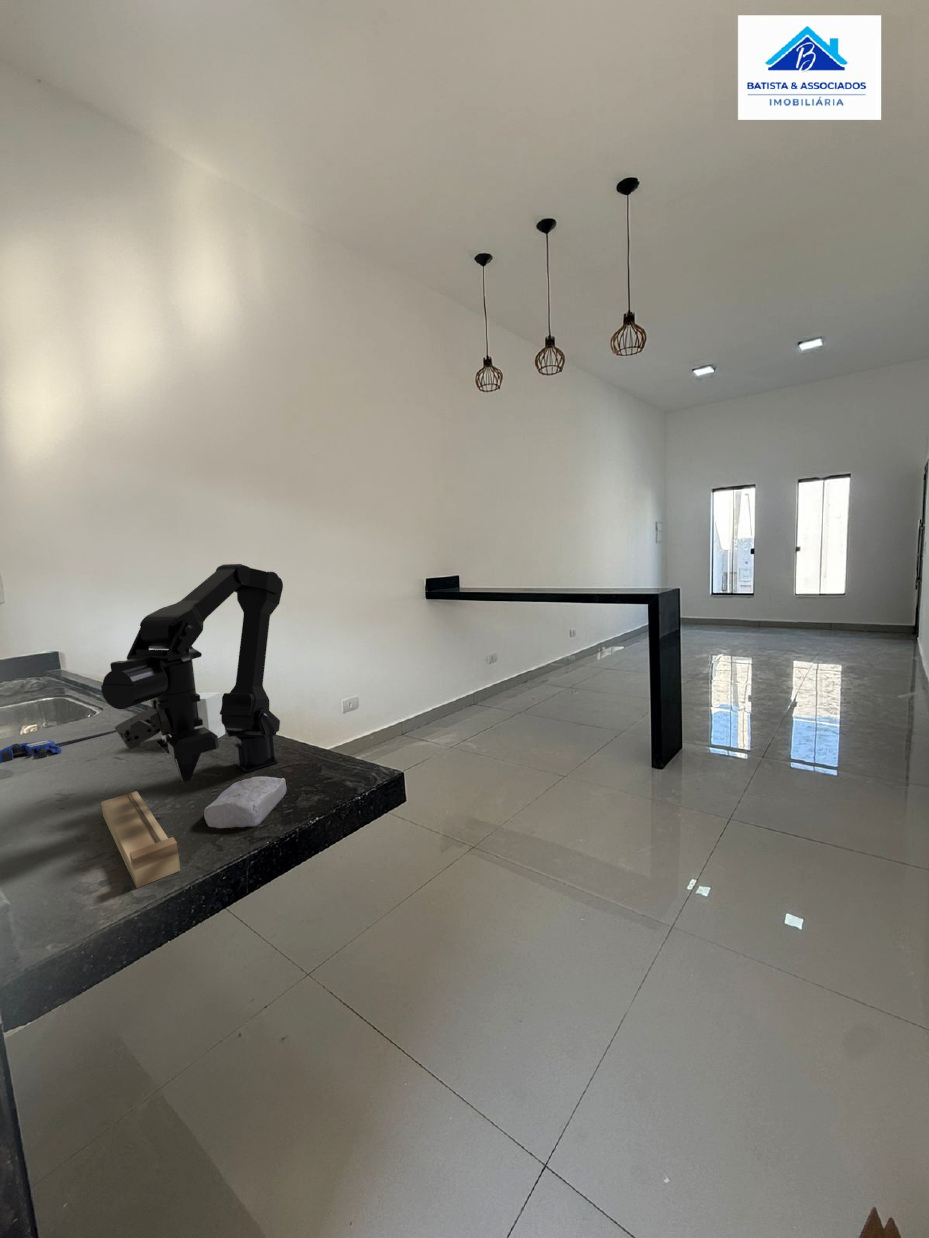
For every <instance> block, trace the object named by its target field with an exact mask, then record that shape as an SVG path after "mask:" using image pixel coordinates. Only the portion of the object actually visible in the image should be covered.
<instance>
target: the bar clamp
mask: <svg viewBox="0 0 929 1238" xmlns="http://www.w3.org/2000/svg"><path fill="white" fill-rule="evenodd" d="M114 733H117V731H116V730H111V731H106V732H102V733H98V734H93V735H89V736H84V737H80V738H75V739H72V740H67V741H62V742H57V743H55V741H53V740H49V739H44V740H39V741H38V740H37V741H33V742H24V743H13V744H12V745H10V746H7V747H4V748H3V749H1V750H0V763H1V764H2V763H5V762H7V763H8V762H10V761H13V760H14V757H15V756H17V757H22V756H23V754H25V755H27V756H29V757H32V756H36V755H38V758H39V759H42V758H46V757H48V756H49V753H48V752H50V751H51V753H52V754H55V753H57V755H60V754H61V753H62V748H61V747H60V746H61V745H62V746H63V745H66V744H71V743H75V742H79V741H83V740H88V739H93V738H96V737H101V736H105V735H110V734H114ZM35 751H36V752H35Z"/></svg>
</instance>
